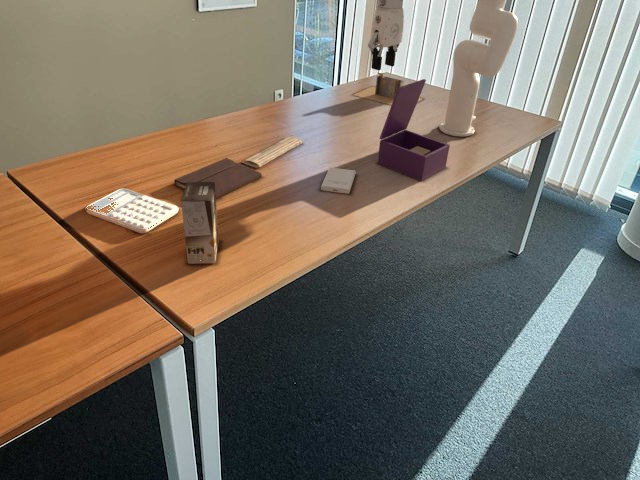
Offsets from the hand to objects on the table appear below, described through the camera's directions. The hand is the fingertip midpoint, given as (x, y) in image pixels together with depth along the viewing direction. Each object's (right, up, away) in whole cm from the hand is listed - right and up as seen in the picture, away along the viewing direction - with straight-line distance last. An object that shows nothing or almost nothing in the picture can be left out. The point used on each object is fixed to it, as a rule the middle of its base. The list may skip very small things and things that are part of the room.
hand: (382, 66), depth 160 cm
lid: (+6, -13, +1) cm, 14 cm away
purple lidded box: (+10, -29, +7) cm, 31 cm away
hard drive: (-14, -36, -5) cm, 39 cm away
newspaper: (-34, -25, +10) cm, 43 cm away
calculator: (-67, -46, -24) cm, 85 cm away
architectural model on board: (+10, +8, +64) cm, 65 cm away
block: (+11, -29, +5) cm, 32 cm away
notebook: (-48, -36, -8) cm, 61 cm away
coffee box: (-46, -56, -38) cm, 81 cm away
